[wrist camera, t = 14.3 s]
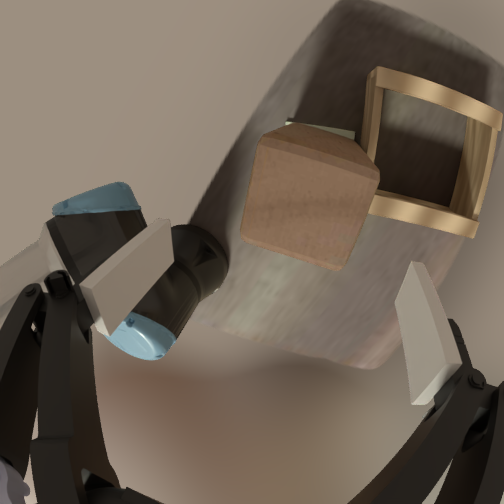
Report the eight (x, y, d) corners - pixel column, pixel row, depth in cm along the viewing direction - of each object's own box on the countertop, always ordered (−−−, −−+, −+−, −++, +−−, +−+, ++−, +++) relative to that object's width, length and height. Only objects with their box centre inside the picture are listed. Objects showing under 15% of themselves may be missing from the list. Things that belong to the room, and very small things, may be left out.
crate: (352, 190, 39) (357, 211, 32) (367, 75, 30) (377, 65, 22) (452, 214, 35) (473, 238, 28) (473, 109, 26) (502, 113, 19)
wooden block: (291, 120, 36) (257, 131, 19) (358, 140, 34) (386, 171, 18) (276, 183, 41) (234, 243, 24) (338, 202, 40) (342, 278, 23)
